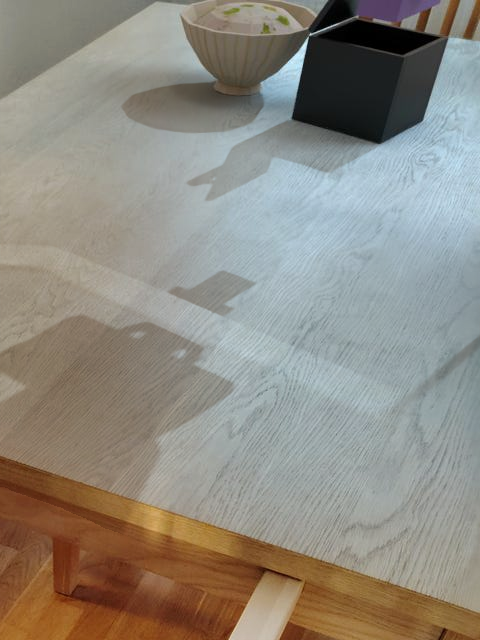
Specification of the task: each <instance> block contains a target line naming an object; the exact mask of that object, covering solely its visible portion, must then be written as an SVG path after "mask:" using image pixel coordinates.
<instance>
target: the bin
mask: <svg viewBox="0 0 480 640" xmlns="http://www.w3.org/2000/svg"><path fill="white" fill-rule="evenodd" d="M448 41H449V36H445V35H440V34H435V33H432V32H427V31H422V30H417V29H411V28H407V27H402V26H397V25H392V24H389V23H384V22H378V21H374V20H369V19H364V18H361V17H360V18H359V17H353V18H350V19H348V20H345V21H342V22H340V23H337V24H335V25H332V26H330V27H327V28H325V29H322V30H320V31H317V32H315V33H312V34H310V35H309V37H308V38H307V44H306V48H305V52H304V57H303V63H302V65H301V66H302V67H301V72H300V76H299V81H298V86H297V91H296V95H295V100H294V105H293V109H292V114H291V119H292V120H295V121H298V122H302V123H305V124H308V125H309V124H310V125H313V126H316V127H319V128H323V129H327V130H331V131H334V132H337V133H342V134H344V135H348V136H351V137H356V138H358V139H359V138H360V139H363V140H366V141H370V142H373V143H377V144H382V143H384V142H386V141H388V140H390V139H392V138H393V137H396V136H397V135H399V134H401V133H403V132H405V131H407V130H408V129H410V128H412V127H414V126H416V125H418V124H420V123H421V122H423V121H424V119H425V115H426V113H427V109H428V106H429V102H430V99H431V96H432V94H433V90H434V87H435V84H436V81H437V77H438V74H439V71H440V68H441V64H442V61H443V57H444V55H445V51H446V48H447V46H448Z"/></svg>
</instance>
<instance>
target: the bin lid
mask: <svg viewBox="0 0 480 640" xmlns="http://www.w3.org/2000/svg"><path fill="white" fill-rule="evenodd" d="M359 1H360V0H327V2H326V3H325V4H324V5H323V7H322V9H321V10H320V11H319V12H318V14H317V17H316V18H315V20H314V21H313V23H312V24H311V25H310V27H309V28H308V30H309V31H310V35H313V34H315V33H318V32H320V31H323V30H325V29H328V28H330V27H333V26H335V25H338V24H340V23H343V22H345V21H348V20H350V19H352V18H356V17H357V16H359V15H357V10H358V6H359Z"/></svg>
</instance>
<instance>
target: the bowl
mask: <svg viewBox="0 0 480 640" xmlns="http://www.w3.org/2000/svg"><path fill="white" fill-rule="evenodd" d="M317 15H318V14H317V13H316V12H315V11H313V10H312V9H311V8H309V7H307V6H303V5H300V4H297V3H293V2H289V1H286V0H203V1H198V2H194V3H190V4H188V5H186V7H185V8H184V9H182V10H181V11H180V12H179V17H180V20H181V24H182V27H183V31H184V34H185V38H186V40H187V42H188V43H189V45H190V47H191V48H192V51H193V52H194V54H195V55H196V57H197V60H199V62H200V64H201V65H202V66H203V68H204V69H205V70H206V71H207V72H208V73H209V74H210V75H212V77H214V78H215V79H216V80H217V81H216V82H215V83H214V85H213V86H212V87H213V89H214V90H215V91H217V92H219V93H221V94H225V95H229V96H230V95H231V96H237V97H238V96H252V95H255V94H258V93H260V92H261V91H262V90H263V86H262V84H261V83H262V82H264V81H266V80H268V79H269V78H270V77H272V76H275V74H277V73H279V72H280V71H281V70H282V69H283V68H284V67H285V66H286V65H287V64H288V63H289V62H290V60H292V59H293V57H295V55H297V54H298V53H299V51H300V50H301V49H302V47H303V46H304V44H305V43H306V41H308V37H309V36H310V35H311V33H310V31H309V30H308V28H309V27H310V25H311V24H312V23H313V21H314V20H315V18H316V17H317Z"/></svg>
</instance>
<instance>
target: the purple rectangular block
mask: <svg viewBox="0 0 480 640" xmlns="http://www.w3.org/2000/svg"><path fill="white" fill-rule="evenodd" d="M441 1H442V0H360V1H359V6H358V10H357V15H358V16H360V17H364V18H370V19H375V20H379V21H384V22H388V23H393V24H396V23H399V22H401V21H403V20H405V19H408V18H410V17H412V16H415V15H417V14H419V13H422V12H424V11H426V10H429V9H431V8H433V7H436V6H438V5H440V4H441Z"/></svg>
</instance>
